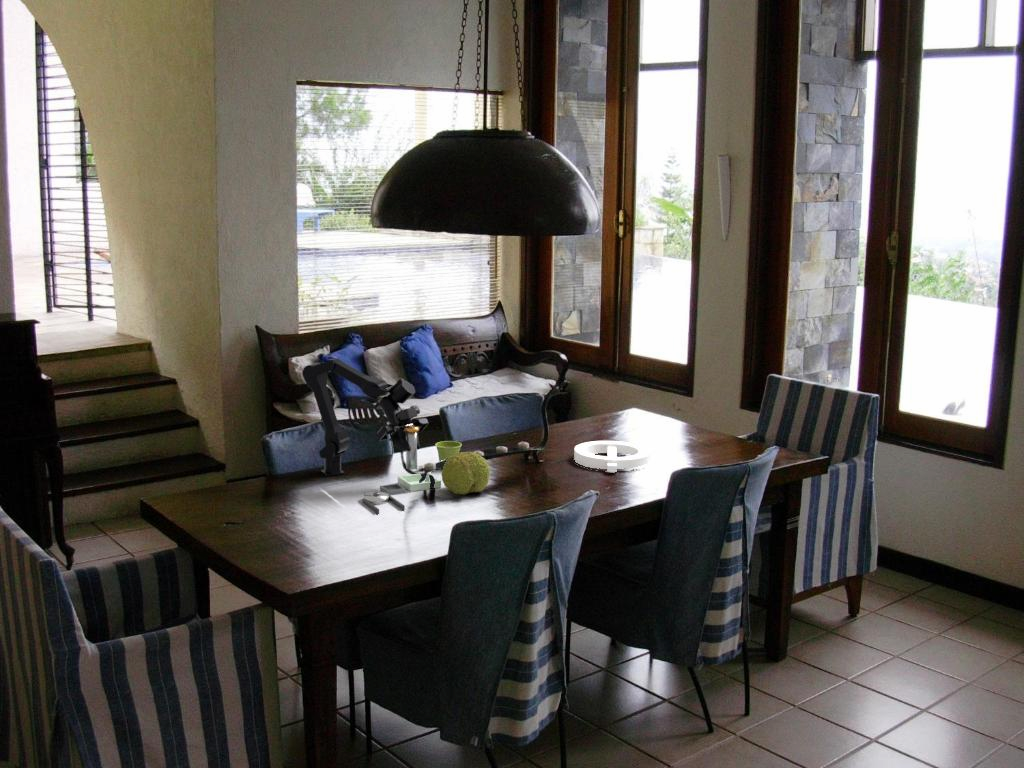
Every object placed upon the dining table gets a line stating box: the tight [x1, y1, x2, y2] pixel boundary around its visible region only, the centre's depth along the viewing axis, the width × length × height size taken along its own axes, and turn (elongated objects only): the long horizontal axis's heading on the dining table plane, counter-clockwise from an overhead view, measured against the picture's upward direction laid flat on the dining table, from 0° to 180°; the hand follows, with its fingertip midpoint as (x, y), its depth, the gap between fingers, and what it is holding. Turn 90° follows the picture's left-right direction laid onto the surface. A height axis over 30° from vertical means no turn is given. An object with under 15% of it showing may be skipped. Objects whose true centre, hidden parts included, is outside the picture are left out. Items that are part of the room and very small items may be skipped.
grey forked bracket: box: [362, 491, 406, 516], centre depth 359 cm, size 16×9×3 cm, turn 29°
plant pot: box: [435, 440, 462, 462], centre depth 404 cm, size 9×9×9 cm
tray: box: [397, 473, 442, 493], centre depth 380 cm, size 11×11×3 cm
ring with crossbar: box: [573, 440, 651, 473], centre depth 418 cm, size 28×28×5 cm
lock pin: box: [403, 426, 419, 470], centre depth 375 cm, size 5×5×14 cm
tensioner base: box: [375, 483, 411, 497], centre depth 373 cm, size 9×9×2 cm
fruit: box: [441, 451, 491, 495], centre depth 374 cm, size 16×14×15 cm
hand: (414, 449), depth 374 cm, fingers closed on lock pin, 4 cm apart
